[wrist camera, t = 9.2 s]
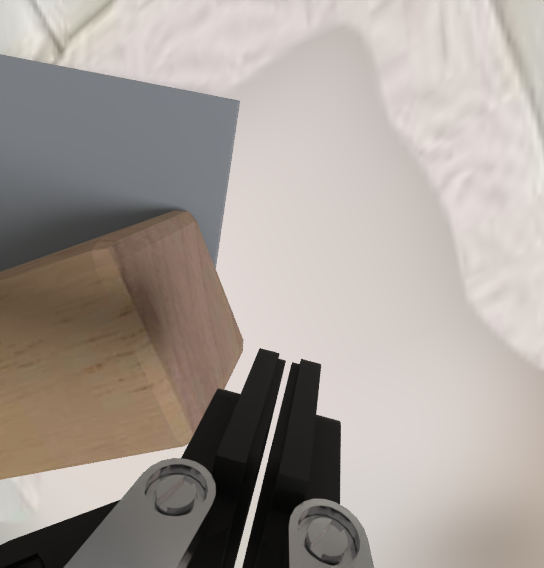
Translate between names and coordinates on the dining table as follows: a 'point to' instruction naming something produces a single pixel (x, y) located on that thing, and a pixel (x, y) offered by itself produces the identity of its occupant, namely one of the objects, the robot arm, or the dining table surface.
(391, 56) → the dining table surface
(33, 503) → the dining table surface
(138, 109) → the mat
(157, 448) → the block
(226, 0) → the dining table surface
